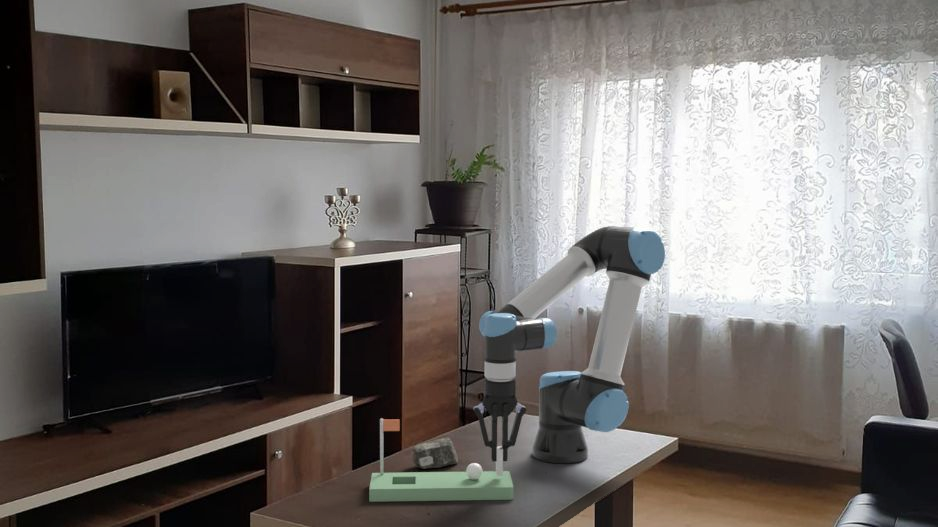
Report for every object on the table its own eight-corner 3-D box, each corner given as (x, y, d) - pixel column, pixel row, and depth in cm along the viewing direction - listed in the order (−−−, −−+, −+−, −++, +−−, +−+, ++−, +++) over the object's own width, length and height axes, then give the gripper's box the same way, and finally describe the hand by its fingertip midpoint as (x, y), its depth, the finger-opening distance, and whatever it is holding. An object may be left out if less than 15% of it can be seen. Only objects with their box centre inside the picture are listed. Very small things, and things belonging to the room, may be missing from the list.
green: (509, 482, 232) (509, 416, 230) (513, 499, 220) (514, 429, 218) (372, 484, 230) (371, 417, 229) (369, 501, 218) (368, 430, 217)
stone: (434, 488, 240) (416, 456, 238) (420, 485, 246) (402, 454, 244) (472, 456, 247) (454, 425, 245) (457, 454, 253) (440, 423, 251)
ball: (482, 476, 227) (482, 460, 227) (483, 482, 223) (483, 465, 223) (465, 476, 227) (465, 460, 227) (466, 482, 223) (466, 466, 223)
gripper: (525, 374, 227) (524, 468, 229) (471, 375, 227) (471, 469, 229) (528, 381, 220) (527, 478, 222) (473, 381, 219) (473, 479, 221)
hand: (499, 473), depth 225 cm, fingers closed
